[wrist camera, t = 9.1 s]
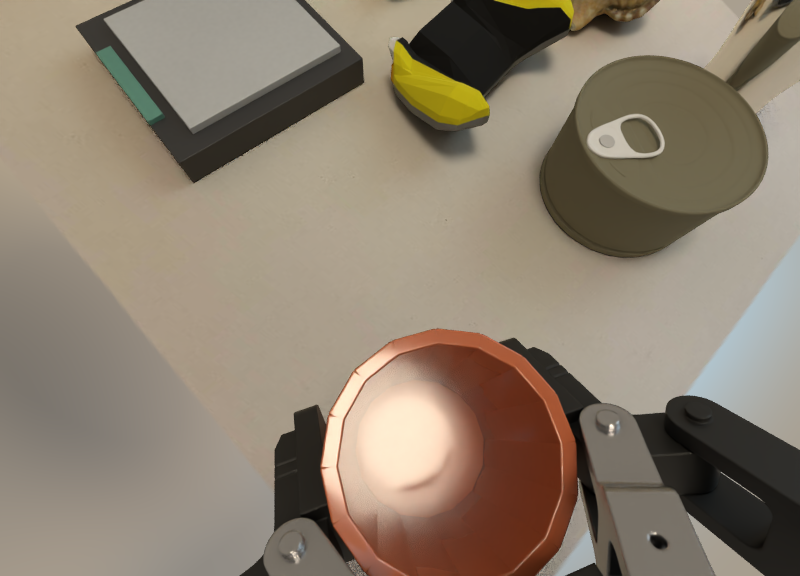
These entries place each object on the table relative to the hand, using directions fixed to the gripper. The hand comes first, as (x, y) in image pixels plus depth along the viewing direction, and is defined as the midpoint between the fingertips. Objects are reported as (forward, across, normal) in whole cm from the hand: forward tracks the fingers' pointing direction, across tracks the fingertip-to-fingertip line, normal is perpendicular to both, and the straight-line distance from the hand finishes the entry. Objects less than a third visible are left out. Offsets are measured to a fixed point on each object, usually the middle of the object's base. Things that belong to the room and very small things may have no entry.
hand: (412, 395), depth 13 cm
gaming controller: (+26, -14, -7) cm, 31 cm away
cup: (+2, 0, +4) cm, 5 cm away
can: (+17, -21, +2) cm, 27 cm away
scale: (+31, +4, -12) cm, 34 cm away
